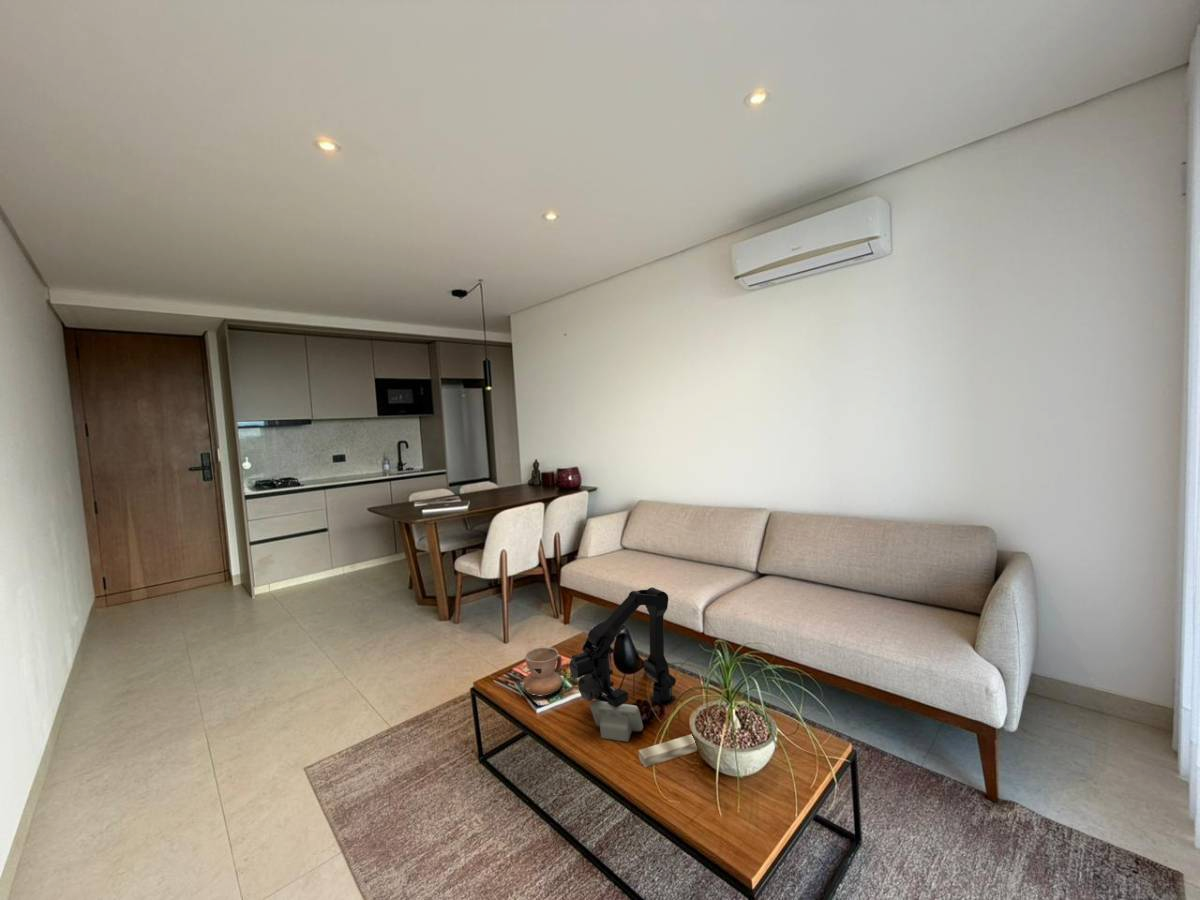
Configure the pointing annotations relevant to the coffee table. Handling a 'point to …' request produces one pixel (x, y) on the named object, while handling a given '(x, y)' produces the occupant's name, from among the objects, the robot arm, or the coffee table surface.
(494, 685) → the coffee table surface
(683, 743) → the pale gray wavy block
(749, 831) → the coffee table surface
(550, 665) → the brown mug
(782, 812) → the coffee table surface
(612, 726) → the digital clock
